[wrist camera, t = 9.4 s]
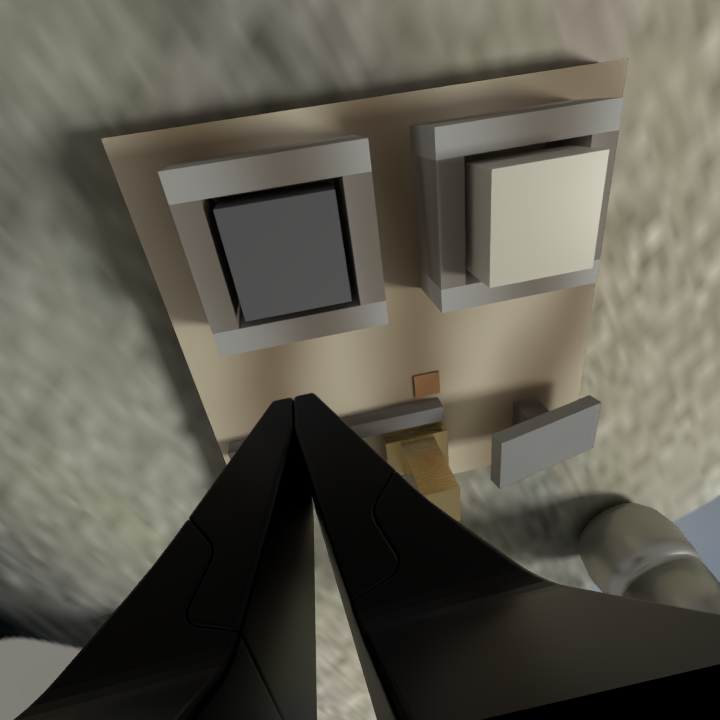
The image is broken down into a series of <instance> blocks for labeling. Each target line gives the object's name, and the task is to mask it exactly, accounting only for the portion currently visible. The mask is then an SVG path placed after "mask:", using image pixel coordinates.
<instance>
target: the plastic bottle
mask: <svg viewBox="0 0 720 720" xmlns="http://www.w3.org/2000/svg"><path fill="white" fill-rule="evenodd" d="M580 556H581V559H582V561H583V563H584V565H585V567H586V570H587V572H588V574H589V576H590V578H591V579H592V581H593V582H594V583H595V584H596V585H597V587H598V588H599V589H600V590H601V591H602V592H603V593H607V594H612V595H617V596H623V597H628V598H633V599H639V600H644V601H650V602H655V603H660V604H666V605H671V606H677V607H682V608H687V609H693V610H698V611H703V612H709V613H716V614H720V582H719V581H718V580H717V578H716V577H715V576H714V575H713V574H712V573H711V571H710V570H709V569H708V568H707V567H706V565H705V564H704V563H703V561H702V559H701V557H700V556H699V554H698V553H697V551H696V550H695V548H694V547H693V546H692V544H691V543H690V542H689V540H688V539H687V538H686V537H685V535H684V534H683V533H682V531H681V530H680V529H679V528H678V527H677V526H676V525H675V524H674V523H673V522H671V521H670V520H669V519H667V518H666V517H665V516H664V515H662V514H661V513H660V512H658V511H657V510H655V509H653V508H650V507H647V506H644V505H640V504H636V503H626V504H620V505H617V506H613V507H611V508H609V509H607V510H605V511H603V512H602V513H600V514H599V515H597V516H596V517H595V518H593V519H592V520H591V521H590V522H589V523H588V524H587V526H586V527H585V528H584V530H583V532H582V534H581V537H580Z"/></svg>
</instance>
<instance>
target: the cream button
mask: <svg viewBox="0 0 720 720" xmlns="http://www.w3.org/2000/svg"><path fill="white" fill-rule="evenodd" d="M608 156H609V149H602V148H592V147H582V146H572V145H568V146H562V147H556V148H550V149H544V150H538V151H532V152H526V153H520V154H514V155H508V156H502V157H496V158H490V159H485V160H479V161H473V162H467V163H465V202H466V270H467V271H469V272H470V273H471V274H472V275H474V276H475V277H476V278H477V279H479V280H480V281H481V282H482V283H484V284H485V285H486V286H488V287H489V288H493V287H498V286H503V285H508V284H514V283H519V282H524V281H529V280H534V279H539V278H544V277H549V276H555V275H560V274H565V273H570V272H575V271H580V270H585V269H590V268H593V263H594V256H595V249H596V241H597V234H598V227H599V220H600V213H601V206H602V199H603V192H604V185H605V177H606V170H607V163H608Z"/></svg>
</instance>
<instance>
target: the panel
mask: <svg viewBox="0 0 720 720" xmlns="http://www.w3.org/2000/svg"><path fill="white" fill-rule="evenodd" d="M627 65H628V58H627V59H621V60H614V61H608V62H601V63H595V64H588V65H581V66H575V67H568V68H562V69H555V70H549V71H542V72H535V73H529V74H522V75H516V76H509V77H503V78H496V79H489V80H483V81H476V82H470V83H463V84H457V85H450V86H444V87H437V88H430V89H424V90H417V91H411V92H404V93H398V94H391V95H384V96H378V97H371V98H365V99H358V100H352V101H345V102H339V103H332V104H325V105H319V106H312V107H306V108H299V109H293V110H286V111H279V112H273V113H266V114H260V115H253V116H247V117H240V118H233V119H227V120H220V121H214V122H207V123H201V124H194V125H188V126H181V127H174V128H168V129H161V130H155V131H148V132H142V133H135V134H128V135H122V136H115V137H109V138H102V139H101V140H102V143H103V146H104V148H105V151H106V153H107V156H108V159H109V161H110V164H111V166H112V169H113V172H114V174H115V177H116V179H117V182H118V185H119V187H120V190H121V192H122V195H123V198H124V200H125V203H126V205H127V208H128V211H129V213H130V216H131V218H132V221H133V224H134V226H135V229H136V231H137V234H138V237H139V239H140V242H141V244H142V247H143V250H144V252H145V255H146V257H147V260H148V262H149V265H150V268H151V270H152V273H153V275H154V278H155V281H156V283H157V286H158V288H159V291H160V294H161V296H162V299H163V301H164V304H165V307H166V309H167V312H168V314H169V317H170V320H171V322H172V325H173V327H174V330H175V333H176V335H177V338H178V340H179V343H180V346H181V348H182V351H183V353H184V356H185V359H186V361H187V364H188V366H189V369H190V372H191V374H192V377H193V379H194V382H195V385H196V387H197V390H198V392H199V395H200V398H201V400H202V403H203V405H204V408H205V411H206V413H207V416H208V418H209V421H210V424H211V426H212V429H213V431H214V434H215V437H216V439H217V442H218V444H219V447H220V449H221V452H222V455H223V457H224V460H225V462H226V465H227V464H228V463H229V461H230V460H231V458H232V457H233V456H234V454H235V453H236V451H237V450H238V449H239V447H240V446H241V444H242V443H243V442H244V440H245V439H246V437H247V436H248V435H249V433H250V432H251V430H252V429H253V428H254V426H255V425H256V424H257V422H258V421H259V419H260V418H261V417H262V415H263V414H264V412H265V411H266V410H267V408H268V407H269V405H270V404H271V403H272V402H273V401H275V400H280V399H285V398H293V400H294V398H295V397H296V396H299V395H303V394H308V393H314V394H316V395H317V396H318V397H319V398H320V399H321V400H322V401H323V402H324V403H325V404H326V405H327V406H328V407H329V408H330V409H331V410H333V411H334V412H335V413H336V414H337V415H338V416H339V417H340V418H341V419H342V420H343V421H344V422H345V423H346V424H347V425H348V426H350V427H351V428H352V429H353V430H354V431H355V432H356V433H357V434H358V435H359V436H360V437H361V438H362V439H363V440H364V441H365V442H366V443H368V444H369V445H370V446H371V447H372V448H373V449H374V450H375V451H376V452H377V453H378V454H379V455H380V456H381V457H382V458H383V459H384V460H386V458H385V450H384V443H383V436H382V434H384V433H388V432H393V431H397V430H402V429H406V428H411V427H415V426H420V425H424V424H429V423H434V422H438V421H443V423H444V425H445V427H446V429H447V431H448V456H449V467H450V469H451V471H452V473H453V474H456V473H460V472H465V471H469V470H473V469H478V468H482V467H486V466H491V445H492V434H494V433H497V432H499V431H502V430H504V429H507V428H509V427H512V426H514V425H517V424H519V423H522V422H524V421H527V420H529V419H532V418H534V417H536V416H539V415H541V414H544V413H546V412H549V411H551V410H554V409H556V408H559V407H561V406H564V405H566V404H569V403H571V402H574V401H576V400H578V399H579V392H580V386H581V379H582V372H583V365H584V358H585V351H586V345H587V338H588V331H589V324H590V317H591V310H592V304H593V297H594V290H595V283H596V282H597V276H598V269H599V262H600V255H601V249H602V242H603V235H604V228H605V222H606V215H607V208H608V201H609V194H610V188H611V181H612V174H613V167H614V161H615V154H616V147H617V140H618V133H619V127H620V120H621V113H622V106H623V100H624V97H623V92H624V85H625V78H626V72H627ZM568 145H572V146H582V147H592V148H602V149H609V156H608V163H607V170H606V177H605V185H604V192H603V199H602V206H601V213H600V220H599V227H598V234H597V241H596V249H595V256H594V263H593V268H590V269H585V270H580V271H575V272H570V273H565V274H560V275H555V276H549V277H544V278H539V279H534V280H529V281H524V282H519V283H514V284H508V285H503V286H498V287H493V288H489V287H488V286H486V285H485V284H484V283H482V282H481V281H480V280H479V279H477V278H476V277H475V276H474V275H472V274H471V273H470V272H469V271H467V270H466V202H465V163H467V162H473V161H479V160H485V159H490V158H496V157H502V156H508V155H514V154H520V153H526V152H532V151H538V150H544V149H550V148H556V147H562V146H568ZM323 181H328V182H329V183H330V184H331V185H332V187H333V188H334V189H335V193H336V200H337V207H338V213H339V220H340V226H341V233H342V239H343V246H344V253H345V259H346V266H347V272H348V279H349V286H350V292H351V299H352V301H351V302H346V303H340V304H335V305H330V306H325V307H319V308H314V309H309V310H304V311H299V312H293V313H288V314H283V315H278V316H273V317H267V318H262V319H257V320H252V321H247V322H245V318H244V315H243V311H242V308H241V304H240V301H239V298H238V294H237V291H236V287H235V284H234V280H233V277H232V273H231V270H230V267H229V263H228V260H227V256H226V253H225V249H224V246H223V243H222V239H221V236H220V232H219V229H218V225H217V222H216V218H215V215H214V212H213V209H214V208H215V206H216V205H217V203H218V201H219V200H220V199H222V198H228V197H234V196H240V195H246V194H252V193H258V192H264V191H270V190H276V189H282V188H288V187H294V186H300V185H306V184H312V183H317V182H323ZM402 476H403V477H404V478H405V479H406V477H405V475H402ZM312 500H313V499H312ZM313 509H315V506H314V502H313Z"/></svg>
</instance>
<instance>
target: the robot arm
mask: <svg viewBox="0 0 720 720" xmlns="http://www.w3.org/2000/svg"><path fill="white" fill-rule="evenodd" d="M312 499H313V500H312ZM313 502H314V506H315V510H316V514H317V517H318V521H319V524H320V527H321V531H322V534H323V538H324V541H325V544H326V548H327V551H328V555H329V558H330V561H331V565H332V568H333V572H334V575H335V578H336V582H337V585H338V589H339V592H340V595H341V599H342V602H343V606H344V609H345V612H346V616H347V619H348V623H349V626H350V629H351V633H352V636H353V640H354V643H355V646H356V650H357V653H358V657H359V660H360V663H361V667H362V670H363V674H364V677H365V680H366V684H367V687H368V691H369V694H370V697H371V701H372V704H373V708H374V711H375V714H376V718H377V720H720V614H716V613H709V612H703V611H698V610H693V609H687V608H682V607H677V606H671V605H666V604H660V603H655V602H650V601H644V600H639V599H633V598H628V597H623V596H617V595H612V594H607V593H601V592H595V591H590V590H585V589H580V588H574V587H569V586H564V585H560V584H557V583H554V582H551V581H549V580H546V579H544V578H542V577H540V576H538V575H536V574H534V573H532V572H530V571H529V570H527V569H525V568H523V567H522V566H520V565H519V564H517V563H516V562H514V561H513V560H512V559H510V558H509V557H507V556H506V555H505V554H503V553H502V552H500V551H499V550H497V549H496V548H495V547H493V546H492V545H490V544H489V543H488V542H486V541H485V540H483V539H482V538H481V537H479V536H478V535H476V534H475V533H474V532H472V531H471V530H469V529H468V528H466V527H465V526H464V525H462V524H461V523H459V522H458V521H457V520H455V519H454V518H452V517H451V516H450V515H448V514H447V513H446V512H444V511H443V510H442V509H440V508H439V507H438V506H436V505H435V504H434V503H432V502H431V501H430V500H428V499H427V498H426V497H425V496H424V495H423V494H422V493H420V492H419V491H418V490H417V489H416V488H415V487H414V486H412V485H411V484H410V483H409V482H408V481H407V480H406V479H405V478H404V477H403V476H402V475H401V474H400V473H398V472H396V470H395V469H394V468H393V467H392V466H391V465H390V464H389V463H388V462H387V461H386V460H384V459H383V458H382V457H381V456H380V455H379V454H378V453H377V452H376V451H375V450H374V449H373V448H372V447H371V446H370V445H369V444H368V443H366V442H365V441H364V440H363V439H362V438H361V437H360V436H359V435H358V434H357V433H356V432H355V431H354V430H353V429H352V428H351V427H350V426H348V425H347V424H346V423H345V422H344V421H343V420H342V419H341V418H340V417H339V416H338V415H337V414H336V413H335V412H334V411H333V410H331V409H330V408H329V407H328V406H327V405H326V404H325V403H324V402H323V401H322V400H321V399H320V398H319V397H318V396H317V395H316V394H314V393H308V394H303V395H299V396H296V397H295V398H294V400H293V398H285V399H280V400H275V401H273V402H272V403H271V404H270V405H269V407H268V408H267V410H266V411H265V412H264V414H263V415H262V417H261V418H260V419H259V421H258V422H257V424H256V425H255V426H254V428H253V429H252V430H251V432H250V433H249V435H248V436H247V437H246V439H245V440H244V442H243V443H242V444H241V446H240V447H239V449H238V450H237V451H236V453H235V454H234V456H233V457H232V458H231V460H230V461H229V463H228V464H227V465H226V467H225V468H224V470H223V471H222V472H221V474H220V475H219V477H218V478H217V479H216V481H215V482H214V483H213V485H212V486H211V488H210V489H209V490H208V492H207V493H206V495H205V496H204V497H203V499H202V500H201V502H200V503H199V504H198V506H197V507H196V509H195V510H194V511H193V513H192V514H191V516H190V517H189V520H187V521H186V522H185V524H184V525H183V526H182V528H181V529H180V531H179V532H178V533H177V535H176V536H175V538H174V539H173V540H172V542H171V543H170V544H169V546H168V547H167V548H166V549H165V551H164V552H163V553H162V555H161V556H160V557H159V559H158V560H157V561H156V563H155V564H154V565H153V566H152V568H151V569H150V570H149V571H148V572H147V574H146V575H145V576H144V577H143V579H142V580H141V581H140V582H139V583H138V585H137V586H136V587H135V588H134V589H133V591H132V592H131V593H130V594H129V595H128V597H127V598H126V599H125V600H124V601H123V602H122V604H121V605H120V606H119V607H118V608H117V609H116V611H115V612H114V613H113V614H112V615H111V616H110V617H109V619H108V620H107V621H106V622H105V623H104V624H103V626H102V627H101V628H100V629H99V630H98V631H97V633H96V634H95V635H94V636H93V637H92V638H91V639H90V641H89V642H88V643H87V644H86V645H85V646H84V648H83V649H82V650H81V651H80V652H79V653H78V655H77V656H76V657H75V658H74V659H73V660H72V662H71V663H70V664H69V665H68V666H67V667H66V668H65V670H64V671H63V672H62V673H61V674H60V676H59V677H58V678H57V679H56V680H55V681H54V682H53V683H52V684H51V685H50V687H49V688H48V689H47V690H46V691H45V692H44V693H43V694H42V695H41V696H40V697H39V698H38V699H37V700H36V701H35V702H34V703H33V704H31V705H30V706H29V707H28V708H27V709H26V710H25V711H24V712H22V713H21V714H20V715H19V716H18V717H16V718H15V719H14V720H317V696H316V635H315V574H314V515H313Z"/></svg>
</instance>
